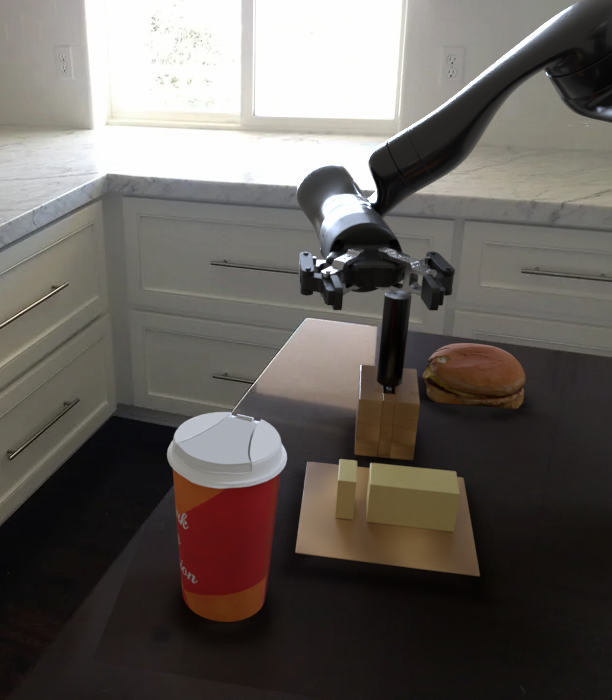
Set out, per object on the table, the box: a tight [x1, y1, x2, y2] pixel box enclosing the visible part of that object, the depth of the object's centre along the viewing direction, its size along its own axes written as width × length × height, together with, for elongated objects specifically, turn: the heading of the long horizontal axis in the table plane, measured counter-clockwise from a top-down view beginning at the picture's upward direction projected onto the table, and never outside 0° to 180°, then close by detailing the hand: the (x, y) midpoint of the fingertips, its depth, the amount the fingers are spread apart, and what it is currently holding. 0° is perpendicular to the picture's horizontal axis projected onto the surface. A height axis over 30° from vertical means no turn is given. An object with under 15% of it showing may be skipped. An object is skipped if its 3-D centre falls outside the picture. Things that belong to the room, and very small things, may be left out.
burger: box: [421, 342, 527, 410], centre depth 88 cm, size 10×9×5 cm
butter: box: [366, 462, 460, 532], centre depth 67 cm, size 6×3×4 cm, turn 77°
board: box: [294, 461, 481, 577], centre depth 69 cm, size 13×13×2 cm
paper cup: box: [166, 411, 288, 623], centre depth 58 cm, size 8×8×14 cm
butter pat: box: [335, 458, 358, 520], centre depth 68 cm, size 1×3×4 cm, turn 167°
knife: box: [376, 290, 413, 394], centre depth 76 cm, size 2×3×15 cm
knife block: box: [353, 364, 421, 461], centre depth 78 cm, size 5×7×7 cm
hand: (387, 300), depth 78 cm, fingers open, 8 cm apart
